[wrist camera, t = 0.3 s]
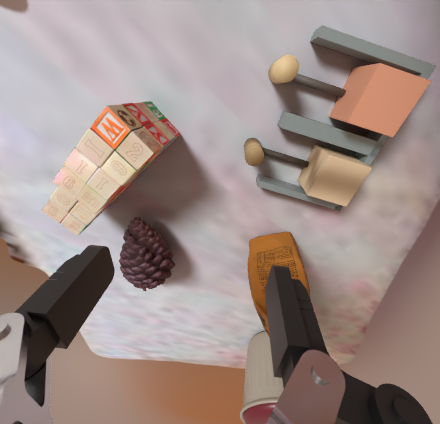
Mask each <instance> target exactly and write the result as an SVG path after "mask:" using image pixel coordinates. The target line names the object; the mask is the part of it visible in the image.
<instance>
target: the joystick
mask: <svg viewBox="0 0 440 424" xmlns="http://www.w3.org/2000/svg"><path fill="white" fill-rule="evenodd" d="M298 69H299V63H298V60H297V59H296V58H295V57H294V56H292V55H285V56H283V57H281V58H280V59H279V60H277V61H276V62H275V63H273V64H272V65H271V67H270V69H269V79H270V80H271V82H273V83H275V84H279V83H286V82H290V81H294V82H297V83H300V84H303V85H306V86H309V87H312V88H315V89H318V90H321V91H324V92H327V93H330V94H333V95H336V96H339V98H338V100H337V102H336V104H335V106H334V108H333V110H332V112H331V114H330V116H329V117H331V118H334V119H337V120H340V121H344V122H347V123H350V124H353V125H356V126H359V127H362V128H365V129H368V130H371V131H375V132H378V133H381V134H384V135H387V136H390V137H394V135H395V134H396V132H397V131H398V129H399V128H400V126H401V125H402V124H403V122H404V121H405V119H406V118H407V116H408V115H409V113H410V112H411V110H412V109H413V107H414V106H415V104H416V103H417V101H418V100H419V98H420V97H421V96H422V94H423V93H424V91H425V90H426V88H427V87H428V85H429V84H430V82H431V81H430V80H427V79H424V78H422V77H419V76H416V75H413V74H410V73H407V72H404V71H402V70H399V69H396V68H393V67H390V66H387V65H385V64H382V63H377V64H372V65H366V66H361V67H355V68H353V70H352V72H351V74H350V76H349V78H348V80H347V82H346V84H345V86H344V88H343V89H341V88H338V87H335V86H333V85H330V84H327V83H324V82H321V81H318V80H315V79H312V78H309V77H306V76H303V75H300V74H297V73H298Z"/></svg>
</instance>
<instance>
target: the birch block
mask: <svg viewBox="0 0 440 424" xmlns="http://www.w3.org/2000/svg"><path fill="white" fill-rule="evenodd" d="M244 150H245V160H246V162H247V163H248V164H249V165H251V166H257V165H259V164H261V163H262V162H263V160H264V155H267V156H271V157H274V158H277V159H280V160H284V161H287V162H290V163H293V164H297V165H300V166H303V169H302V171H301V173H300V175H299V177H298V179H297V180H298V181H299V183H300V185H301V186H302V188H303V189H304V191H305V192H306V194H307V195H308V196H312V197H315V198H319V199H322V200H325V201H329V202H332V203H336V204H339V205H342V206H347V205H348V203H349V202H350V200H351V199H352V197H353V196H354V194H355V193H356V191H357V190H358V188H359V187H360V185H361V184H362V182H363V181H364V179H365V178H366V177H367V175H368V174H369V172H370V171H371V169H372V168H371V167H370V166H368V165H366V164H365V163H363V162H361V161H359V160H358V159H356V158H354V157H353V156H351V155H348V154H345V153H341V152H338V151H335V150H332V149H329V148H326V147H322V146H319V145H316V144H315V145H314V147H313V149H312V151H311V153H310V155H309V157H308V159H307V161H305V160H301V159H298V158H295V157H292V156H288V155H285V154H282V153H278V152H275V151H272V150H269V149H265V148H262V147H261V145H260V142H259V141H258V140H257V139H256V138H250V139H248V140H247V141H246V142H245V145H244Z"/></svg>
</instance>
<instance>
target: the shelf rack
mask: <svg viewBox="0 0 440 424" xmlns="http://www.w3.org/2000/svg"><path fill="white" fill-rule="evenodd" d="M310 42H312V43H315V44H318V45H321V46H323V47H326V48H329V49H332V50H335V51H338V52H341V53H343V54H346V55H349V56H352V57H355V58H358V59H361V60H364V61H366V62H369V63H372V64H377V63H382V64H385V65H387V66H390V67H393V68H396V69H399V70H402V71H404V72H407V73H410V74H413V75H416V76H419V77H422V78H424V79H428V78H429V76H430V75H431V73H432V72H433V70H434V69H435V67H436V66H435V65H432V64H429V63H427V62H424V61H421V60H418V59H415V58H413V57H410V56H407V55H404V54H401V53H398V52H396V51H393V50H390V49H387V48H384V47H382V46H379V45H376V44H373V43H370V42H368V41H365V40H362V39H359V38H356V37H353V36H351V35H348V34H345V33H342V32H339V31H337V30H334V29H331V28H328V27H325V26H321V27H320V28H318V29H317V30H316V31H315V32H314V33H313V36H312V38H311V41H310ZM278 126H279V127H280V128H283V129H286V130H289V131H292V132H295V133H298V134H302V135H305V136H308V137H311V138H314V139H317V140H321V141H324V142H327V143H330V144H333V145H336V146H339V147H343V148H346V149H349V150H352V151H355V152H357V153H356V155H355V156H354V158H356V159H358V160H359V161H361V162H363V163H365V164H366V165H368V166H370V165H371V163H372V162H373V160H374V159H375V157H376V156H377V154H378V153H379V151H380V150H381V148H382V147H383V145H384V144H385V142H386V141H387V139H388V138H389V136H387V135H384V134H381V133H378V132H375V131H371V130H370V132H369V134H368V135H367V137H364V136H361V135H358V134H355V133H352V132H349V131H346V130H342V129H339V128H336V127H333V126H330V125H327V124H324V123H321V122H318V121H315V120H311V119H308V118H305V117H302V116H299V115H296V114H293V113H290V112H287V111H284V110H283V112H282V115H281V117H280V120H279V122H278ZM256 182H257V187H261V188H264V189H267V190H271V191H274V192H278V193H281V194H284V195H288V196H291V197H295V198H298V199H301V200H305V201H308V202H312V203H315V204H318V205H322V206H325V207H329V208H332V209H335V210H339V211H340V209H341V208H342V205H339V204H336V203H332V202H329V201H325V200H322V199H319V198H315V197H312V196H308V195H307V194H306V192H305V191H304V189H303V188H302V187H300V186H296V185H293V184H290V183H286V182H283V181H280V180H276V179H273V178H270V177H266V176H263V175H260V174H258V176H257V179H256Z"/></svg>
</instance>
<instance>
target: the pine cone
mask: <svg viewBox="0 0 440 424" xmlns="http://www.w3.org/2000/svg"><path fill="white" fill-rule="evenodd" d="M128 228H129V229H127V230H125V234H124V237H123V238H124V240H125V243H124V244H123V246H122V251H121V253H120V256H121V258H120V260H119V262H120V264H121V267H120V269H121V271H122V273H123V277H125V278H126V279H127V280H128V282H130V283H132V284H133V285H134V286H135V287H137V288H142V289H143V290H144V291H146V288H149V289H152V288H155V287H157V285H160V284H163V283H164V282H165V278H169V277H171V271H170V269H172V268H173V267H174V266H175V263H174V262H173V261H172V260H171V259H172V257H173V254H172V252H170V251H168V250H166V244H165V243H164V242H163V240H162V239H161V236H160V235H159V234H158V232H157V231H156V230H154V229H153V227H152V226H151V225H147V223H146V222H145V221H141V219H140V217H135V219H134V220H132V221H131V225H129V226H128Z"/></svg>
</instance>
